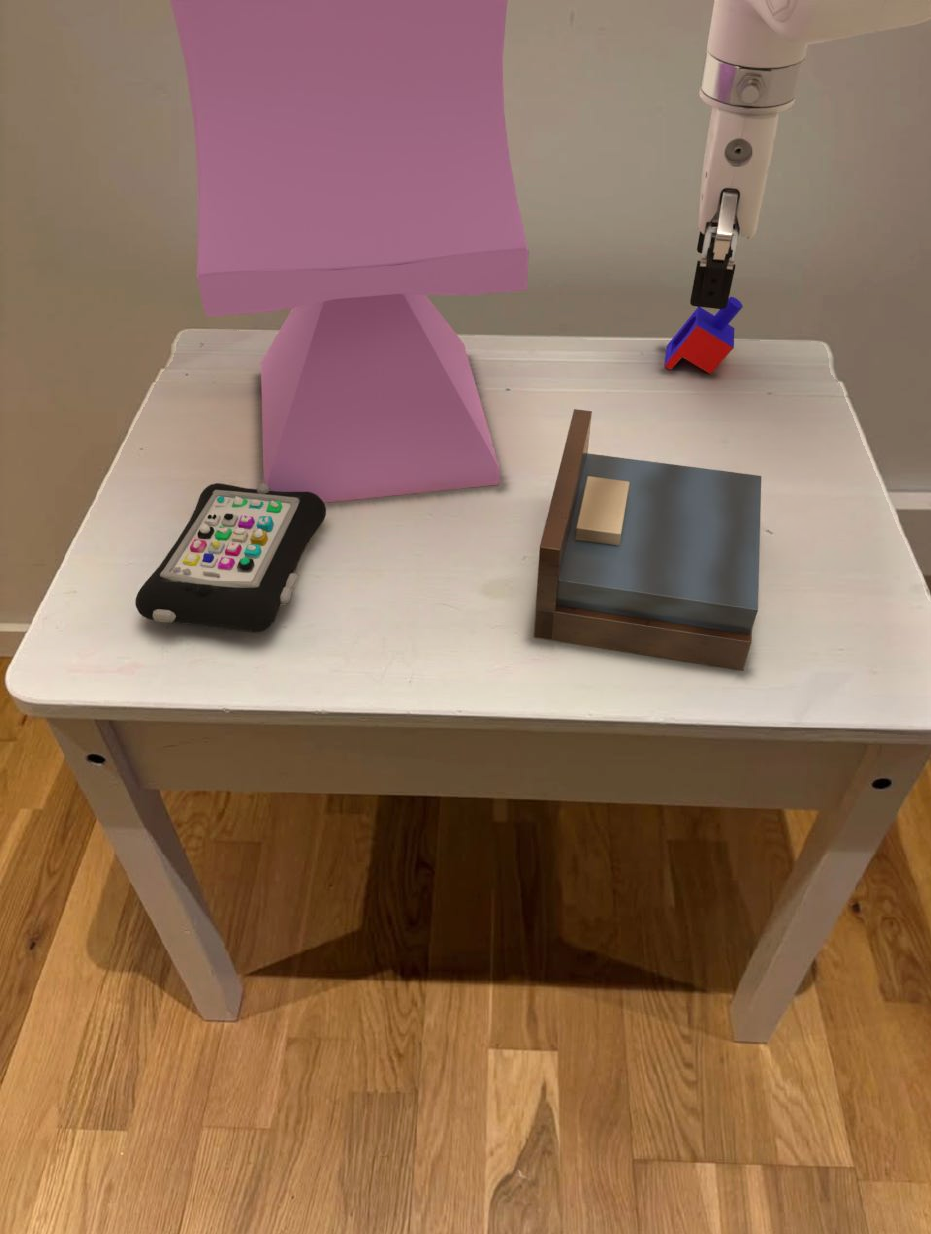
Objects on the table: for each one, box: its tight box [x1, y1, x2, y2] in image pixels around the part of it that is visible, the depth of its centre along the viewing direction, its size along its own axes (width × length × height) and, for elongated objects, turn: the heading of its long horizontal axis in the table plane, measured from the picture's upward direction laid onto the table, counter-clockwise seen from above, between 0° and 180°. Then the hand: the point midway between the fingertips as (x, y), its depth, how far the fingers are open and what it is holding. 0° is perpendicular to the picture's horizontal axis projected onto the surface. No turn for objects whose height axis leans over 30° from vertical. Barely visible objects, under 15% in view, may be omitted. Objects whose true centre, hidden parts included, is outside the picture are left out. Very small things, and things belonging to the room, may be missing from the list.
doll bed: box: [533, 408, 762, 671], centre depth 73 cm, size 15×16×9 cm
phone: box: [134, 482, 327, 634], centre depth 75 cm, size 11×15×4 cm
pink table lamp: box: [169, 0, 530, 504], centre depth 73 cm, size 22×22×45 cm
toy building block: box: [663, 296, 744, 375], centre depth 94 cm, size 4×4×8 cm
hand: (710, 278), depth 91 cm, fingers open, 9 cm apart
